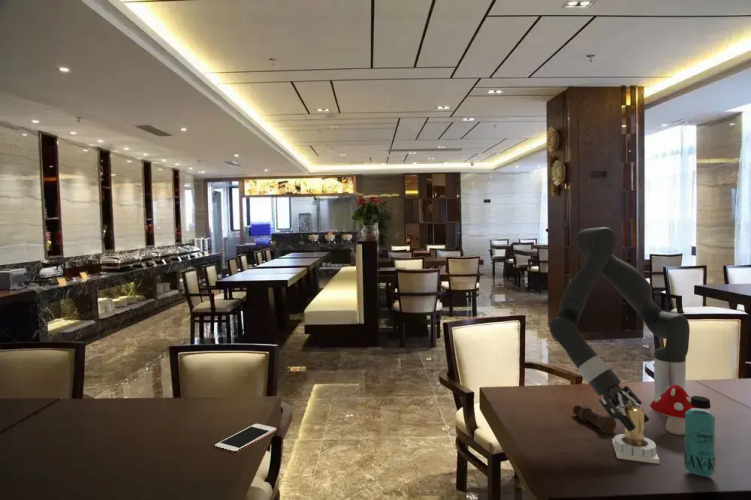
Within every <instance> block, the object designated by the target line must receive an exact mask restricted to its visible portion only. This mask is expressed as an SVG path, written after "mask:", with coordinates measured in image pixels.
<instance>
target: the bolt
mask: <svg viewBox="0 0 751 500" xmlns="http://www.w3.org/2000/svg"><path fill="white" fill-rule="evenodd" d="M572 413H573V414H574V415H576V416H578V418H579V420H580V421H582V422H590V423H591V424H594V425H596V426H598V428H599V430H600V432H601V433H603V434H612V433H614V431H615V430H616V427H617V422H616V419H612V418H611V417H610V415H609V414H606V415H600V414H598V413H596V412H594V411H593V410H592V408H591V407H589V406H586V405H585V406H580V405H574V406H573V408H572Z"/></svg>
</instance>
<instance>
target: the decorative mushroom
mask: <svg viewBox="0 0 751 500" xmlns="http://www.w3.org/2000/svg"><path fill="white" fill-rule="evenodd" d="M690 403H691V396H690V395H689V394H688V393H687V391H686V392H685V390H684V389H683V388H682V387H681V386H679V385H671V386H669V387H667V389H666V391H665V392H664V393H663V394H662V395H660V396H659V397H658V398H656V399H655V400H654V399H653V400H652V401H651V403H650V404H649V406H650V408H651V409H652V410H653V411H655V413H657V414H661V415H663V416H665V417H667V421H666V424H665V429H666V431H668V433H670V434H673V435H677V436H682V435H683V436H684V435H685V417H686V415H685V413H686V411H688V410H690V409H692V408H696V407H693V406H691V404H690ZM698 409H701V408H698Z"/></svg>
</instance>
